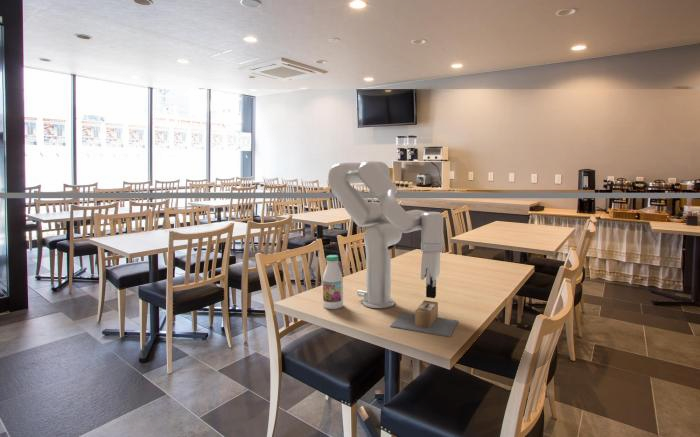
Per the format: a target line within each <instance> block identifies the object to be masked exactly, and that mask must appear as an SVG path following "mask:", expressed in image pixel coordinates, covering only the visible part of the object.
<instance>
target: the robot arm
mask: <svg viewBox="0 0 700 437" xmlns="http://www.w3.org/2000/svg"><path fill="white" fill-rule="evenodd" d="M390 175H391V170H390V168H389V165H387V164H386V163H385V162H383V161H374V160H373V161H366V162H338V163H336V164H334V165H332V166H331V168H330V170H329V171H328V176H327V181H328V185H329V188H330V190H331V192H332V195H334V197H335V198H336V199H337V200H338V201H339V203H340V204H341V205H342V206H343V208H344V209H345V211H346V212H347V214H348V215H349V216H350V218H351V219H352V221H353V222H354V223H355V225H357V226H358V227H360V228H361V227H364V228H365V227H367V229H366V230H365V231H364V234H363V242H364V248H365V257H366V258H365V260H366V261H365V262H366V263H365V265H366V268H365V269H366V272H365V274H366V276H365V277H366V278H365V279H366V285H365V286H366V287H365V288H366V290H362V289H358V290H357V296H358V297H361V298H363V299H362V305H364V307H367V308H371V309H388V308H391V307H392V306H394V305H395V299H394V298H393V297H392V296H391V292H392V291H391V290H392V289H391V279H392V278H391V275H392V274H391V272H392V269H391V267H392V264H391V260H392V259H391V255H390V251H389V247H390V246H395V245H396V244H398V243H399V242H400V241H401V239H402V236H403V234H408V233H411V232H416V231H417V232H418V231H420V232H421V233H420V238H421V240H420V251H421V252H422V256H421V263H420V264H421V266H420V280H424V279H425V297H426V298H428V299H429V298H430V299H435V298H436V296H437V278H439V275H440V273H441V253H443V251H444V215H443V213H442V212H440V211H425V210H422V209H421V210H420V209H412V210H405V209H404V208H403V207H402V206H401V205H400V204H399V202H398V201H397V199H396V193H397V192H398V186H397V185H396V184H395V183H394V182H393V180H392V179H391V178H390ZM351 184H364V185H365V187H367V189H368V190H369V191H370V192H371V193H372V194H373V195H374V197H375V198H376V199H378V201H367V200H366V199H365V198H364V196H362V194H361V192H359V191H358V189H357V188H356V187H354V186H352V185H351Z"/></svg>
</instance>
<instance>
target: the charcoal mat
mask: <svg viewBox="0 0 700 437" xmlns="http://www.w3.org/2000/svg"><path fill="white" fill-rule="evenodd" d="M458 323H459V320H457V319H451V318H446V317H445V318H444V317H439V316H437V317H436V319H435V320H434V322H433V323H432V325H431V326H430V328H427V327H421V326H415V313H413V312H412V313H411V312H405V311H403V312H401V314H399V316H397V318H396V319H395V320H394V321H393V322H392V323H391V324H390V326H389V327H390V328H396V329H400V330H405V331H412V332H419V333H424V334H428V335H437V336H439V337H440V336H441V337H447V338H451V336H452V334H453V332H454V331H455V328H456V327H457V324H458Z"/></svg>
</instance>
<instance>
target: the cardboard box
mask: <svg viewBox="0 0 700 437" xmlns="http://www.w3.org/2000/svg"><path fill="white" fill-rule="evenodd" d="M438 312H439V302H438V301H433V300H426V299H425V300H423V301H422V303H420V305H419V306H418V307H417V308H416V310H415V311H414V314H415V326H421V327H427V328H430V326H431V325H432V323H433V322H434V320H435V319H436V317H439V316H438V315H439V313H438Z"/></svg>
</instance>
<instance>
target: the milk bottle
mask: <svg viewBox="0 0 700 437" xmlns="http://www.w3.org/2000/svg"><path fill="white" fill-rule="evenodd" d="M343 282H344V281H343V274H342V271H341V269H340V266H339V255H338V254H329V255H326V266H325V270H324V272H323V275H322V300H323V302H322V303H323V307H324V308H325V309H329V310H337V309H341V308H343V305H344V283H343Z"/></svg>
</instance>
